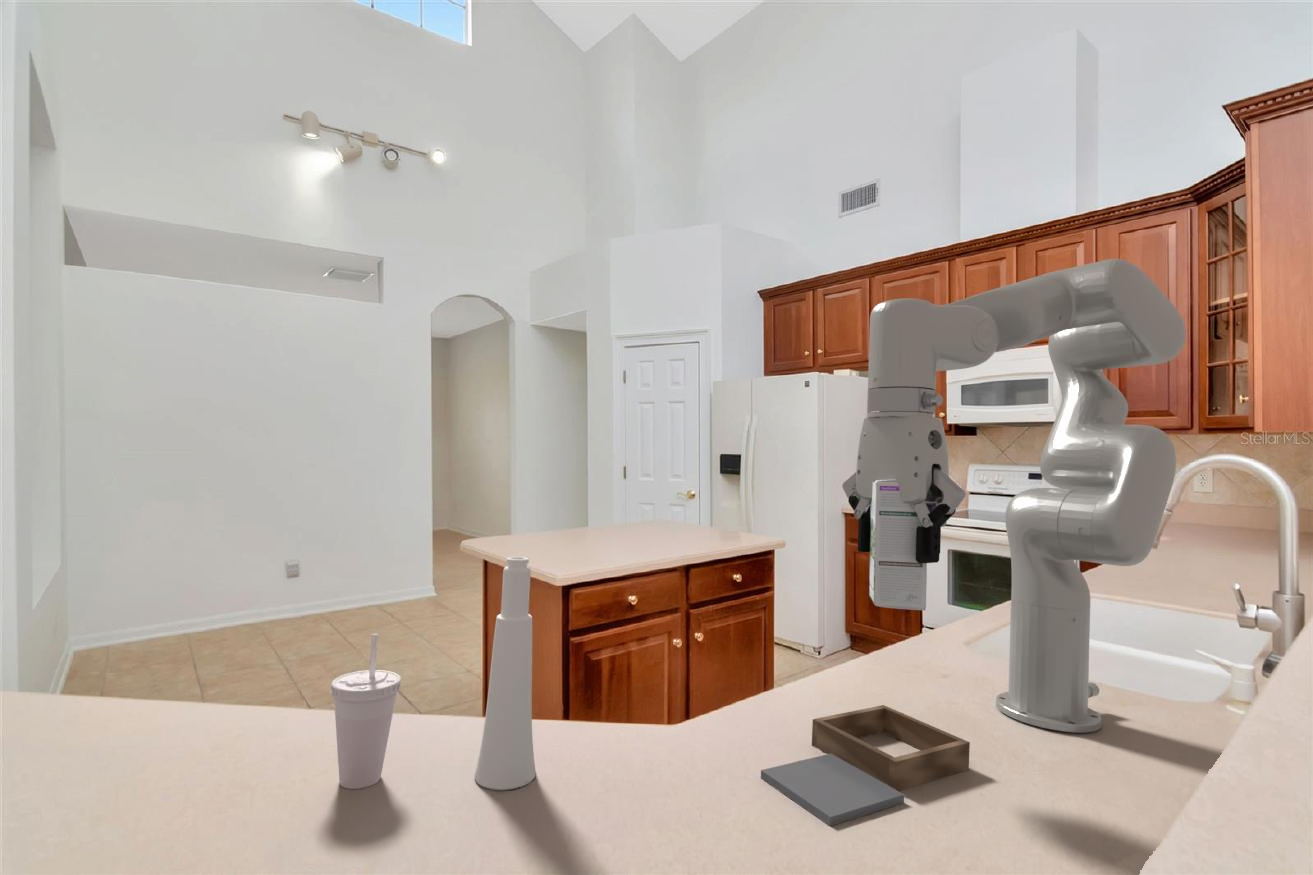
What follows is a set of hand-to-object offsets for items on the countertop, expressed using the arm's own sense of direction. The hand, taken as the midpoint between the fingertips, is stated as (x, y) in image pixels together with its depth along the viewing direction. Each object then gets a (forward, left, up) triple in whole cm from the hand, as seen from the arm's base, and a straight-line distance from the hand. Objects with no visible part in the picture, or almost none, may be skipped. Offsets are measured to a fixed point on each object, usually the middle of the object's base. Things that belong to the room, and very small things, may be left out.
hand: (896, 556), depth 77 cm
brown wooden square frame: (0, 0, -23) cm, 23 cm away
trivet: (+12, +3, -23) cm, 26 cm away
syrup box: (0, 0, -6) cm, 6 cm away
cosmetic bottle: (+41, -13, -23) cm, 49 cm away
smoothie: (+54, -18, -23) cm, 62 cm away
